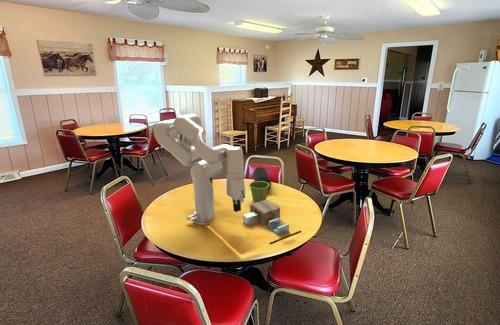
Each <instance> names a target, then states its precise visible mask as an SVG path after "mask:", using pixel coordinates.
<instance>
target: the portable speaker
mask: <svg viewBox="0 0 500 325" xmlns="http://www.w3.org/2000/svg"><path fill="white" fill-rule="evenodd" d="M252 175H253V180H254V181H253V182H255V181H264V182H267V183H269V184H270V185H269V187H268V191H269V190H270V188H271V187H272V182H271V179H270V177H269V174H268V172H267V169H266V168H264V167H263V166H258V167H256V168H254V170H253V172H252Z"/></svg>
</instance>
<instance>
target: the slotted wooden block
mask: <svg viewBox="0 0 500 325" xmlns="http://www.w3.org/2000/svg"><path fill="white" fill-rule="evenodd" d="M254 211H257V212H259V213H260V221H259V222H258V223H261V224H262V226H265V225H268V221H271V220H273V219H276V218H279V219H281V207H279V206H278V205H276V204H274V203H272V202H271V201H269V200H267V199H266V200H263V201H260V202H257V203H256V202H253V203H250V204H249V213H251V212H254Z"/></svg>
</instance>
